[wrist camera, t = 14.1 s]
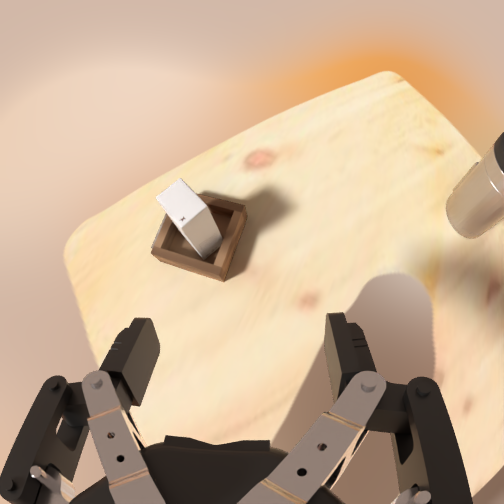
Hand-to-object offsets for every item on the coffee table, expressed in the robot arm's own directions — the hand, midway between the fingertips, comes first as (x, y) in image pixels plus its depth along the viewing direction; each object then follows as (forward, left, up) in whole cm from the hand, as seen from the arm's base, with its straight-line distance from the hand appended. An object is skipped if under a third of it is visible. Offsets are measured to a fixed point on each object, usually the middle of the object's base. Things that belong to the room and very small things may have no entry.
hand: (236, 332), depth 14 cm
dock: (-13, -15, -31) cm, 37 cm away
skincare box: (-13, -14, -30) cm, 35 cm away
